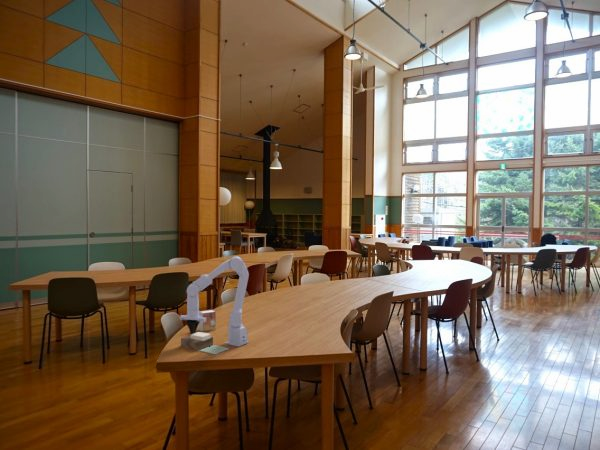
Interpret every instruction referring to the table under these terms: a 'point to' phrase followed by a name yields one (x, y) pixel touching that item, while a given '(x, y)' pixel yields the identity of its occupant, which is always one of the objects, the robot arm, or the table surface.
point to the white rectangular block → (200, 336)
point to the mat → (214, 349)
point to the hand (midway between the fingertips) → (193, 334)
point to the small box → (208, 320)
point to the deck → (196, 343)
